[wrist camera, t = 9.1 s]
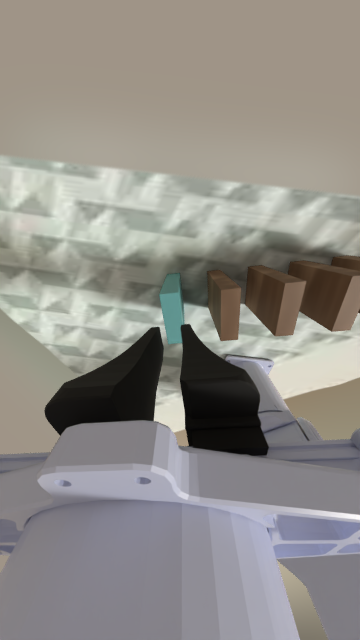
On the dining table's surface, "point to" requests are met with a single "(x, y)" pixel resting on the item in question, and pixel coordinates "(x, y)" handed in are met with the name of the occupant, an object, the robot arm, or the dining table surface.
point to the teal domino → (172, 307)
